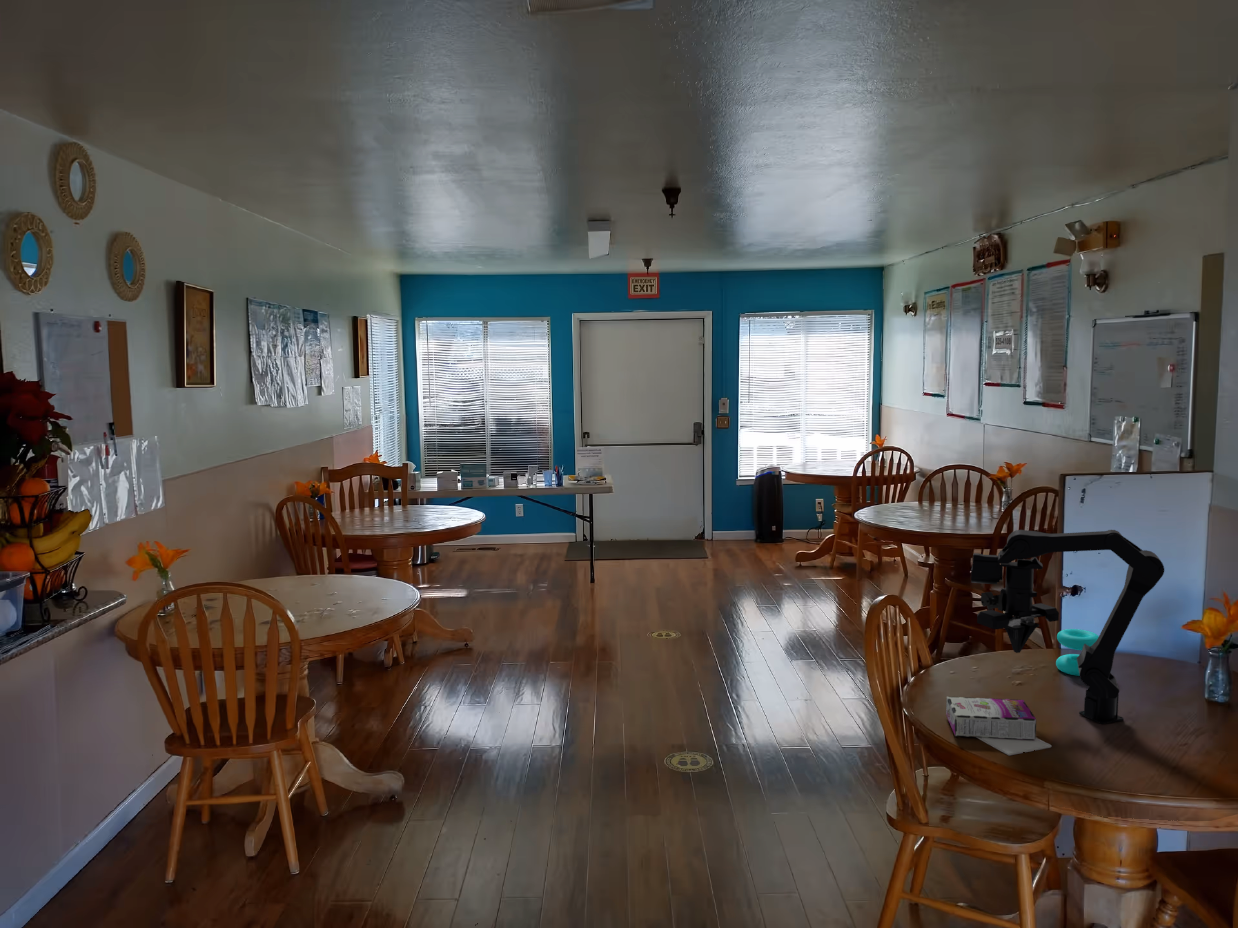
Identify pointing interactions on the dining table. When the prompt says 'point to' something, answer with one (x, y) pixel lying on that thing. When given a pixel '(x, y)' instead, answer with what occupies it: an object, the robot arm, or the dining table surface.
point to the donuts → (1073, 641)
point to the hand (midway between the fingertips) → (1016, 652)
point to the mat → (1015, 745)
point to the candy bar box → (990, 718)
